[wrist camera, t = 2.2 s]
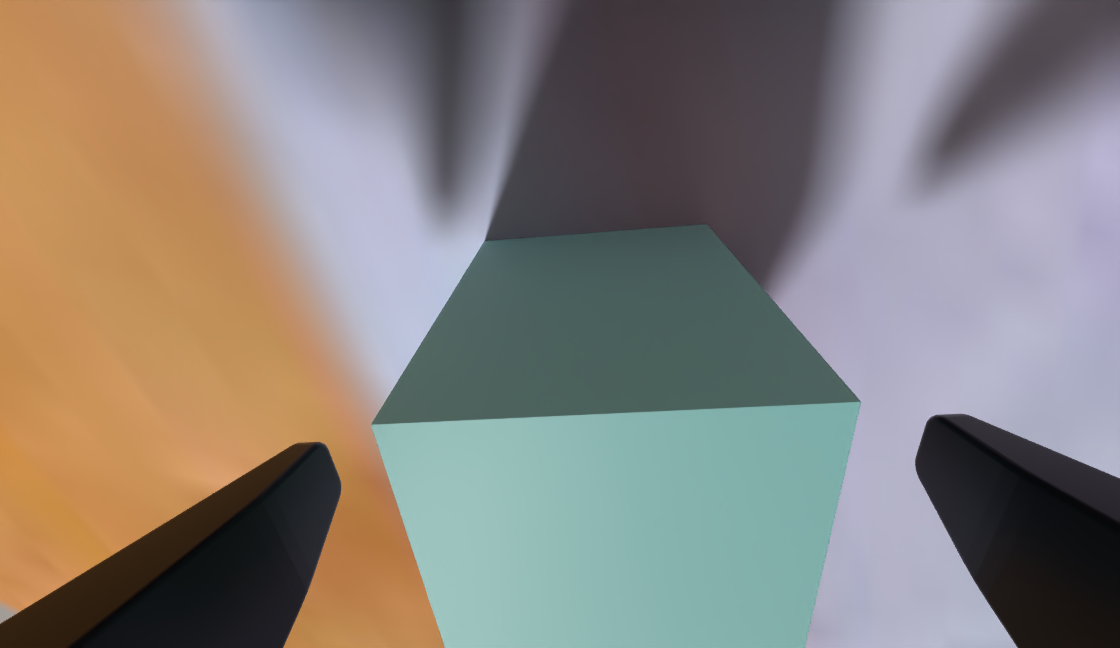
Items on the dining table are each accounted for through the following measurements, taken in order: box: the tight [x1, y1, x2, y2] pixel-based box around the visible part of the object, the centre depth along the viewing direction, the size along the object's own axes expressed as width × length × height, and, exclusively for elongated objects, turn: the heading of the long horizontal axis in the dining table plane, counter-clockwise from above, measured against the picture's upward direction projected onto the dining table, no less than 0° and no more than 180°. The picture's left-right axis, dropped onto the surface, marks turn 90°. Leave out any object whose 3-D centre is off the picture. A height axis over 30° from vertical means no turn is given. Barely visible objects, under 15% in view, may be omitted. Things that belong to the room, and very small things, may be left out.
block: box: [371, 224, 861, 648], centre depth 8 cm, size 4×4×6 cm
